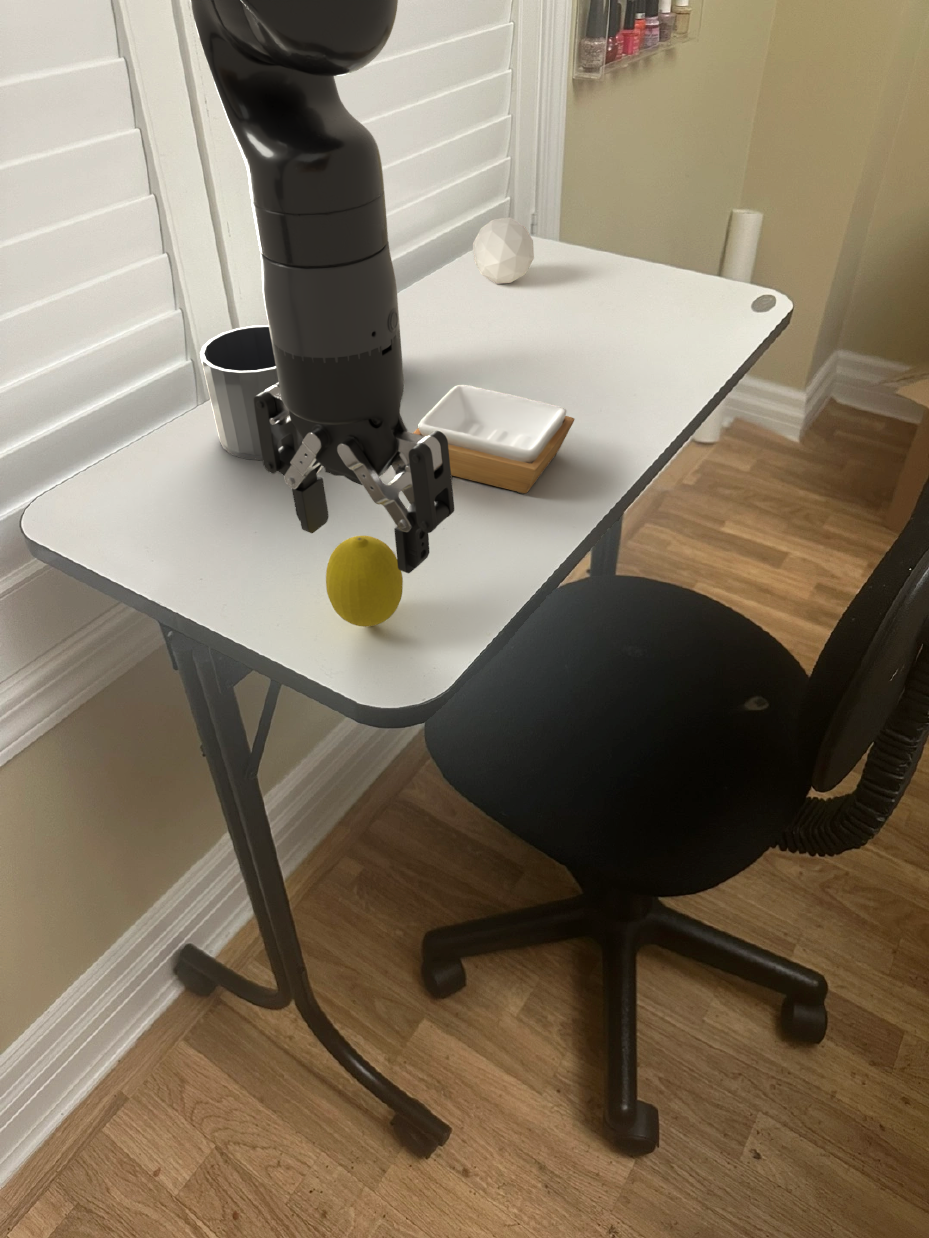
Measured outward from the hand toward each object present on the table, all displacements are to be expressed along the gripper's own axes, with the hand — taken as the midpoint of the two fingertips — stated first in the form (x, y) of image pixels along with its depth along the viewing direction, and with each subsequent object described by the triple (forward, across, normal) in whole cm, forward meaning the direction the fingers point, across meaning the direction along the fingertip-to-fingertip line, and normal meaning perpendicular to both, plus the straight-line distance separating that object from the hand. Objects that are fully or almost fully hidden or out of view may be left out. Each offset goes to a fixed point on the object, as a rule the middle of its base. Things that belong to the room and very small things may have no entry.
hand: (362, 545), depth 63 cm
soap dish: (+8, -4, +24) cm, 25 cm away
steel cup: (+7, -26, +17) cm, 32 cm away
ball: (+8, -26, +62) cm, 68 cm away
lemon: (+8, 0, 0) cm, 8 cm away
